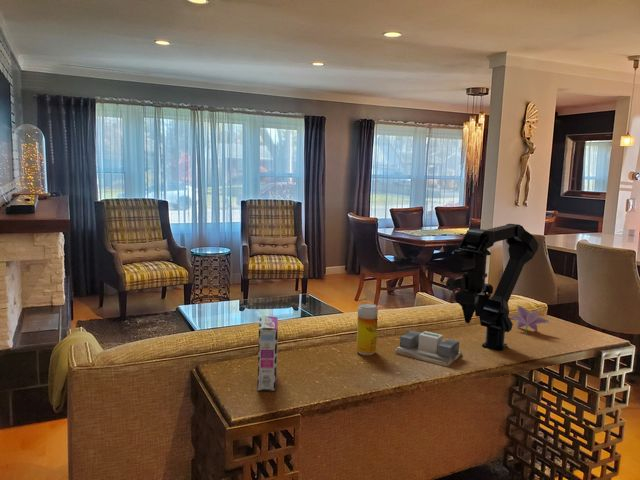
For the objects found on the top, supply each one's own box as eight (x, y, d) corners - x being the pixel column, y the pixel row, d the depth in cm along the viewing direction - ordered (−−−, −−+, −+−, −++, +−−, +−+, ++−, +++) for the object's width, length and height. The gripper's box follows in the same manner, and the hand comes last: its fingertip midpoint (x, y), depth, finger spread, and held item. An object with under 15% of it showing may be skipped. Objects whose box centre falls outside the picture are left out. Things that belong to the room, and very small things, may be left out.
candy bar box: (277, 391, 128) (277, 328, 125) (257, 391, 127) (257, 328, 125) (277, 373, 139) (277, 315, 136) (258, 374, 138) (259, 315, 136)
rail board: (412, 343, 166) (413, 328, 166) (461, 355, 157) (462, 339, 156) (395, 353, 157) (396, 338, 156) (446, 366, 147) (447, 350, 147)
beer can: (374, 356, 153) (377, 308, 151) (355, 354, 155) (356, 307, 153) (376, 350, 159) (378, 303, 157) (357, 348, 161) (359, 302, 159)
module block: (424, 346, 161) (424, 330, 160) (442, 350, 158) (443, 334, 157) (418, 350, 157) (419, 333, 157) (436, 354, 154) (437, 337, 153)
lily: (552, 339, 178) (552, 313, 181) (534, 331, 172) (534, 304, 175) (521, 340, 187) (521, 315, 191) (502, 333, 181) (503, 307, 184)
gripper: (460, 262, 167) (457, 308, 169) (439, 271, 152) (436, 321, 154) (495, 267, 161) (491, 315, 163) (475, 276, 145) (472, 328, 148)
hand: (472, 319), depth 157 cm, fingers open, 9 cm apart
